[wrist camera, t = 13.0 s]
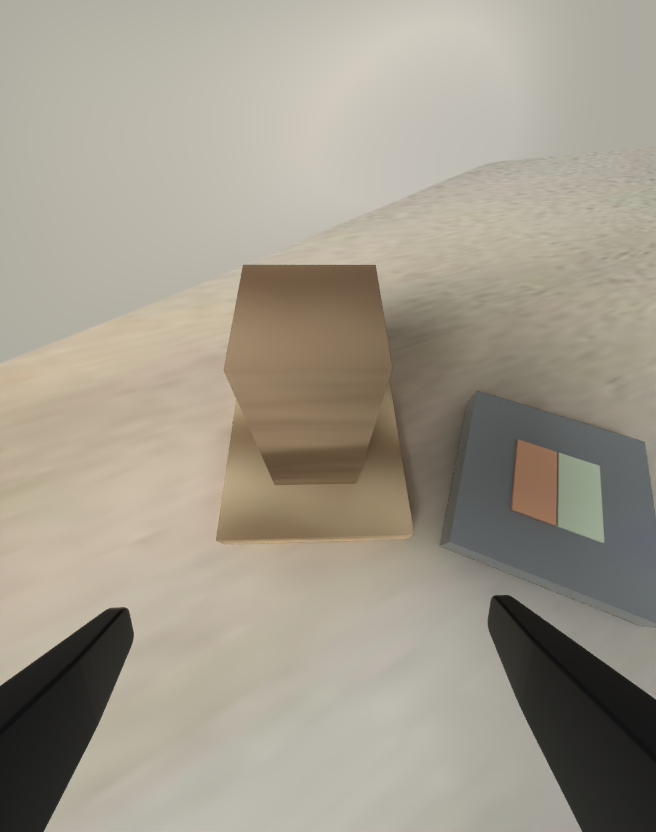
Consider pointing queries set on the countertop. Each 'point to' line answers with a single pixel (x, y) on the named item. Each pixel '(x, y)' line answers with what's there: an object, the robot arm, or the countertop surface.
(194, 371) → the countertop surface
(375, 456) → the light wooden board
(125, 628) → the robot arm
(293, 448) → the walnut block
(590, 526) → the plate
